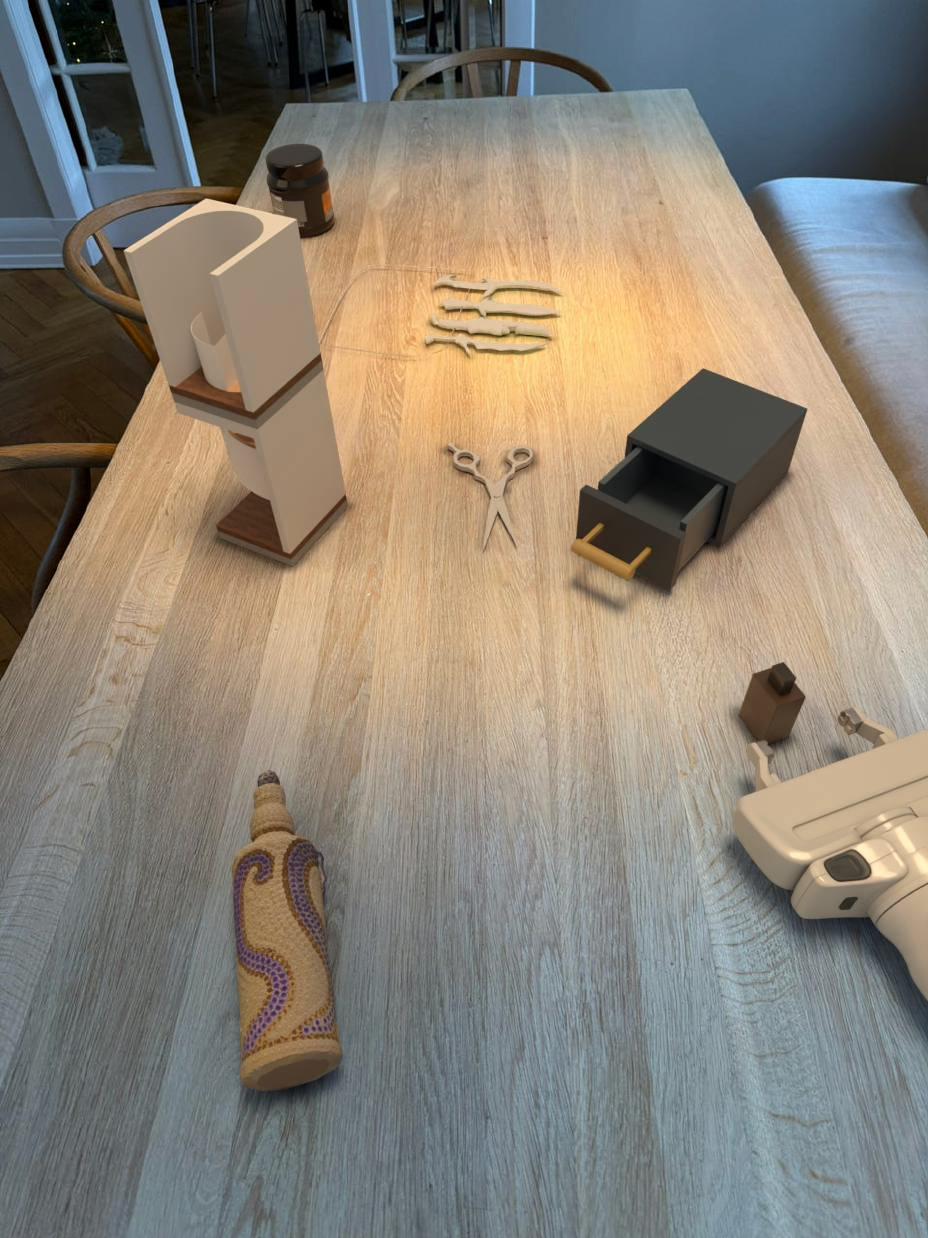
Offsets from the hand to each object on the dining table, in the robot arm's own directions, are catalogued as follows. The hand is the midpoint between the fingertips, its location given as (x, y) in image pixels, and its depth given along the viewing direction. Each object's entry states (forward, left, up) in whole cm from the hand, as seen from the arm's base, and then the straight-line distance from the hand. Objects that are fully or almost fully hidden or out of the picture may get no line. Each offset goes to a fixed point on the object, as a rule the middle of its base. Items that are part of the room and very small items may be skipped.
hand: (800, 728), depth 78 cm
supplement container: (+116, -48, -5) cm, 126 cm away
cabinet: (+25, -29, -5) cm, 39 cm away
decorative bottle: (+23, +40, -5) cm, 47 cm away
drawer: (+25, -16, -4) cm, 30 cm away
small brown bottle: (+3, -2, -5) cm, 6 cm away
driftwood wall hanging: (+76, -40, -5) cm, 86 cm away
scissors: (+44, -12, -5) cm, 46 cm away
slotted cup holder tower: (+61, +7, -5) cm, 62 cm away
